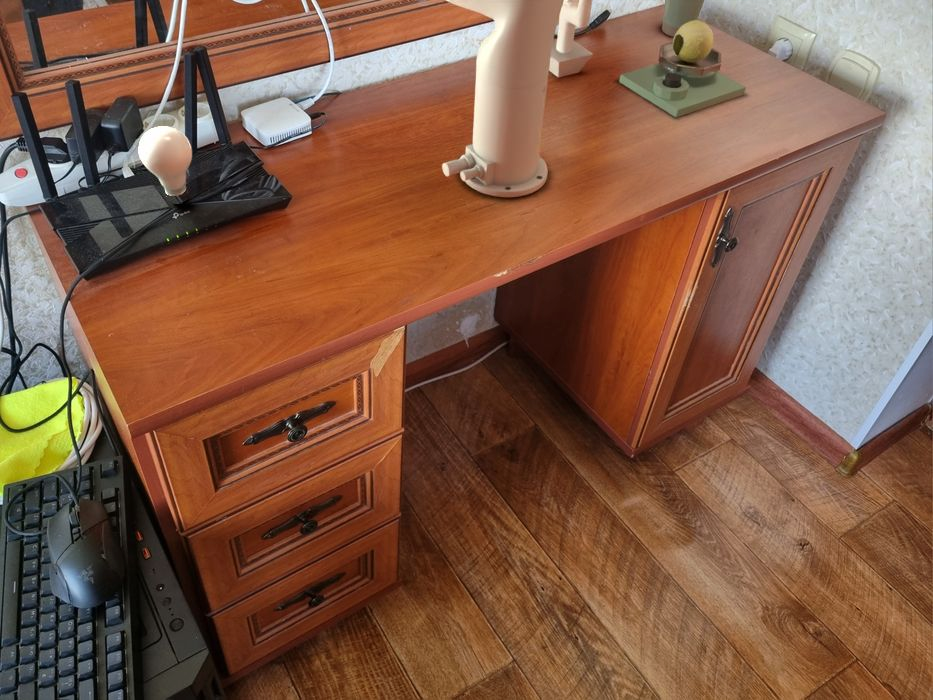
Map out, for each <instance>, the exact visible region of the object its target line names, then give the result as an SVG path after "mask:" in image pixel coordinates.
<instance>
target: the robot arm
mask: <svg viewBox="0 0 933 700" xmlns="http://www.w3.org/2000/svg"><path fill="white" fill-rule="evenodd" d="M445 1H446V2H448V3H450V4H452V5H455V6H457V7H459V8H460V7H461V8H464V9H466V10H469V11H473V12H475V13H479V14H481V15H483V16H485V17H488V18H490V19H492V20H493V21H494V27H493V29H492V30H491V32H490V33H489V34H488V35H487V36H486V37H484V39H483V41H482V42H481V44H480V46H479V48H478V51H477V54H476V64H475V86H474V108H473V125H472V126H473V127H472V144H468V145H466V146H465V154H462V155H461V156H460V158H458V159H452V160H449V161H446V162H443V163H442V164H441V170H442V172H443V174H444V175H445V177H451V176H454V175H457V174H459V177H460V179H461V181H462V182H465V183H466V185H468V186H469V187H470V188H471V189H473V190H476V191H477V192H479V193H481V194H484V195H488V196H492V197H498V198H515V197H516V198H518V197H522V196H523V197H524V196H528V195H530V194H532V193H534V192H535V193H536V191H539V189H541V188H542V187H543V186H544V185H545V183H546V182H547V180H548V174H549V173H548V171H549V169H548V165H547V163H546V162H545V161H546V160H544V159H543V158H542V156H540V149H541V140H542V133H543V125H544V115H545V108H546V99H547V92H548V83H549V76H550V75H549V74H550V71H549V66H550V58H551V51H552V45H553V41H554V39H555V35H556V29H557V27H558V26H557V22H558V19H559V15H560V12H561V8H562V5H563V2H564V0H445Z"/></svg>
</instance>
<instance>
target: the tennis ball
mask: <svg viewBox="0 0 933 700" xmlns="http://www.w3.org/2000/svg"><path fill="white" fill-rule="evenodd" d="M714 39H715V37H714V32H713V30H712V29H711V27H710V26H709V25H708V24H707V23H706V22H703V21H701V20H698V19H697V20H694V21H690V22H688V23H685V24H684V25H682V26H681V27H680V28H679V30H678V31H677V32H676V34H675V36H674V37H673V41H672V42H673V49H674V52H675V56H678V57H679V58H680V59H681V60H683V61H685V62H687V63H688V62H689V63H695V62H699V61H701V60H702V59H703V58H705V57H706V56H707V55H708V54H709V53H710V51H711V49H712V48H713V46H714V41H715V40H714Z"/></svg>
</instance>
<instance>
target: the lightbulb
mask: <svg viewBox="0 0 933 700" xmlns="http://www.w3.org/2000/svg"><path fill="white" fill-rule="evenodd" d="M138 155H139V159H140V160H141V163H142V164H143V165H144V167H145V168H146V169H147V170H148V171H149V172H150V173H152V174H153V175H154V176H155V177H156V178H157V179H158V181H159V182H160V185H161V186H162V187H163V189H164V191H165V194H167V195H169V196H179V195H182V194H183V193H184V192H185V191H186V189H187V186H186V181H187V171H188V169H189V168H190V165H191V163H192V159H193V149H192V145H191V143H190V140H189V139H188V137H187V136H186V135H185V134H184V133H183V132H181V131H180V130H179V129H177V128H175V127H172V126H168V125H160V126H159V125H158V126H155V127H152V128H150V129H149V130H147V131H146V132H145V133H144V134H143V135H142V137H141V139H140V140H139V144H138Z"/></svg>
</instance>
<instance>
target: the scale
mask: <svg viewBox="0 0 933 700" xmlns="http://www.w3.org/2000/svg"><path fill="white" fill-rule="evenodd" d="M668 73H670V72H668V71H666V70H665V69H664V68H662V67H661V66H660V64H659V62H657V63H655V64H651V65H648V66H645V67H641V68H638V69H634V70H631V71H627V72H625V73H621V74H620V76H619V80H618V82H619V83H620V84H621V85H623V86H625V87H626V88H628V89H630V90H631V91H633V92H634V93H636V94H637V95H639V96H641V97H642V98H644V99H645V100H646V101H649V102H650V103H652V104H653V105H655V106H657V107H658V108H660V109H661V110H663V111H664V112H666V113H668V114H669V115H671V116H673V117H674V118H679V117H682V116H685V115H688V114H691V113H693V112H697V111H699V110H702V109H706V108H708V107H712V106H715V105H717V104H721V103H723V102H726V101H729V100H731V99H735V98H738V97H740V96H744V95H745V92H746V88H747V86H745V85H743V84H741V83H740V82H738V81H736V80H734V79H732V78H730V77H729V76H727V75H725V74H723V73H722V72H720V71H719V70H718V71H717V72H716V73H715V74H714V75H712V76H709V77H704V78H689V77H683V76H681V82H680V86H679V87H678V88H670V87H666V86H665V85H664V80H665V76H666V74H668Z"/></svg>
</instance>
